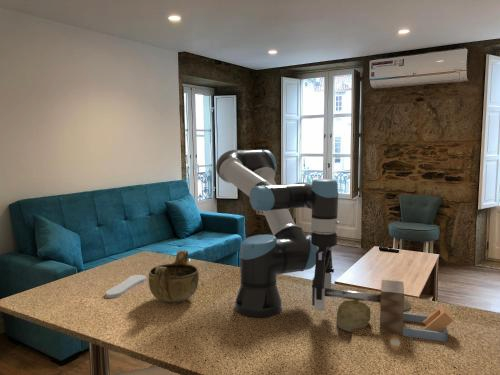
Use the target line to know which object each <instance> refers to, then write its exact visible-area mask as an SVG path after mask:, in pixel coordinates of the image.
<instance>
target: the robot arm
mask: <svg viewBox="0 0 500 375" xmlns="http://www.w3.org/2000/svg"><path fill="white" fill-rule="evenodd" d="M215 165H216V166H215V170H216V173H217V175H218V177H219V179H221V180H222V181H224V182H225V183H228V184H232V185H234V186H235V187H236V188H238V190H240V191H241V192H243V194H245V195H246V196H247V197H249V203H250V205H251V208H252V209H253V210H254V211H257V212H258V211H259V212H260V211H261V212H262V211H263V214H264V216H265V219H266V221H267V224H268V226H269V228H270V230H271V232H272V234H265V233H264V234H256V235H252V236H249V237H247V238H245V239H244V240H243V241H242V242H241V243H240V251H239V258H240V259H239V260H240V261H239V263H240V286H239V289H238V292H237V295H236V298H235V302H234V303H235V311H236V312H237V313H238V314H241V315H244V316H247V317H251V318H265V317H271V316H274V315H276V314H278V313H280V312H281V311H282V303H283V302H282V298H281V295H280V292H279V288H278V286H277V275H283V274H289V273H290V274H291V273H298V272H304V271H307V270H310V269H312V268H313V267H314V275H313V278H314V285H312V284H311V289H312V288H315V305H314V311H315V310H318V311H325V297H326V296H325V288H329V289H332V273H334V272H335V269H334V268H333V256H332V254H333V253H332V247H336V246H337V245H338V232H337V230H338V225H340V221H339V220H338V211H339V205H338V204H339V188H338V187H339V186H338V185H339V184H338V183H339V182H338V181H337V180H336V179H332V178H330V179H328V178H316V179H313V180H312V182H311V183H307V182H295V183H289V184H277V183H276V181H275V176H276V174H277V169H278V168H277V159H276V157H275V155H274V154H273V153H272V152H271V151H270V150H268V149H262V148H258V149H231V150H228V151H226V152H224V153H222V154H221V155H220V156H219V158H218V159H217V161H216V164H215ZM301 208H303V209H304V208H305V209H310V210H311V219H310V220H311V222H310V224H311V225H310V226H311V228H310V230H311V231H312V232H311V234H305V232H304V230H303V228H302V227H301V226H299V225H296V223H295V221H294V219H293V217H292V215H291V213H290V211H289V210H290V209H301ZM317 283H320V284H317Z"/></svg>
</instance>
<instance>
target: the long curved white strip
mask: <svg viewBox="0 0 500 375" xmlns="http://www.w3.org/2000/svg"><path fill="white" fill-rule="evenodd" d="M146 281H147V276H146V275H144V274H134V275H130V276H129V277H127V278H126V279H125V280H123V281H122V282H120V283H119V284H117V285H115V286H113V287H111V288H109V289H107V291H105V293H104V295H105V298H106V297H107V298H108V299H114V298H115V297H116V298H119V297H121V296H122V295H124V294H126V293H127V292H128V291H130V290H132V289H133V288H134V287H136V286H139V285H140V284H142V283H145V282H146ZM107 298H106V299H107Z"/></svg>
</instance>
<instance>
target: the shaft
mask: <svg viewBox="0 0 500 375" xmlns="http://www.w3.org/2000/svg"><path fill="white" fill-rule="evenodd" d="M311 282H312V284H311V286H312V285H314V277H312V281H311ZM317 284H320V283H317ZM311 289H312V290H311V291H312V292H311V294H312V295H311V297H312V298H311V299H312V301H311V306H314V305H315V288H312V287H311ZM325 297H328V298H336V299H343V300H349V299H350V300H351V299H352V300H359V301H361V302H370V303H378V304H379V303H381V293H371V292H362V291H355V290H344V289H336V288H331V289H329V288H325Z"/></svg>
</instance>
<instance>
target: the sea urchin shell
mask: <svg viewBox="0 0 500 375" xmlns="http://www.w3.org/2000/svg"><path fill="white" fill-rule="evenodd" d="M378 304H379V306H380V305H381V303H378ZM410 308H411V303H410V301H409V299H408V298H407V297H406V296H405V295H404V311H408V310H410Z"/></svg>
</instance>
